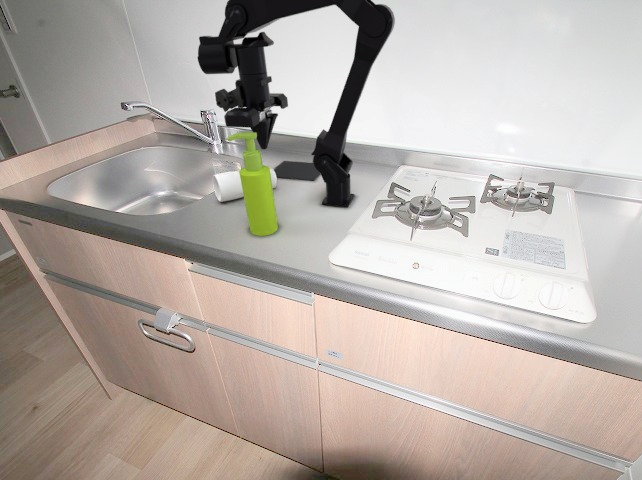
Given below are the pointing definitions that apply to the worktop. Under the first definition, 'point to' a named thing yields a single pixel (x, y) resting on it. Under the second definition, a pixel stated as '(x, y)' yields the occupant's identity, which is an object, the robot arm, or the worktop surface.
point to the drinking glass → (233, 185)
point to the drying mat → (297, 171)
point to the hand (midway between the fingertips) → (264, 148)
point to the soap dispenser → (257, 188)
